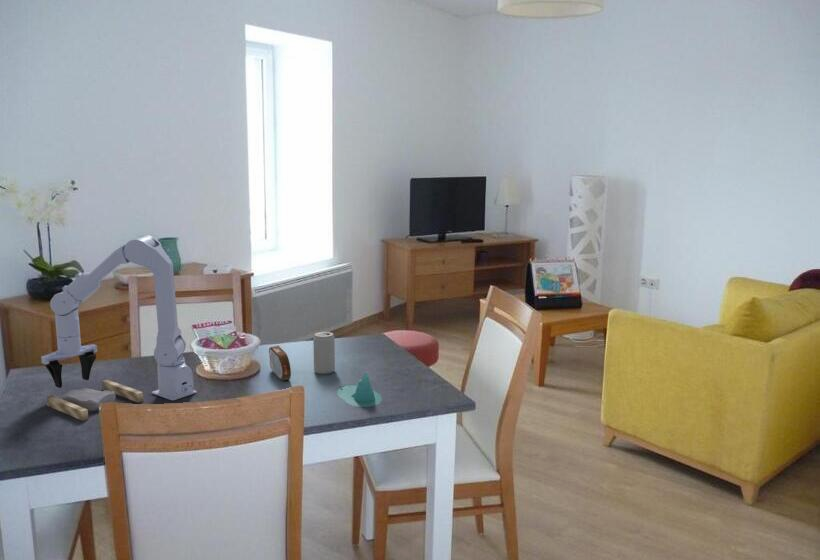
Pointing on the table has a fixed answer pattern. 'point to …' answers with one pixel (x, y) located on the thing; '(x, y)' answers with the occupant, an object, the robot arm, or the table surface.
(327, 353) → the beverage can
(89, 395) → the stone block
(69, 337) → the robot arm
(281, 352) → the bread slice
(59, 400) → the pair of wooden posts
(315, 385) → the table surface
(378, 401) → the diorama
